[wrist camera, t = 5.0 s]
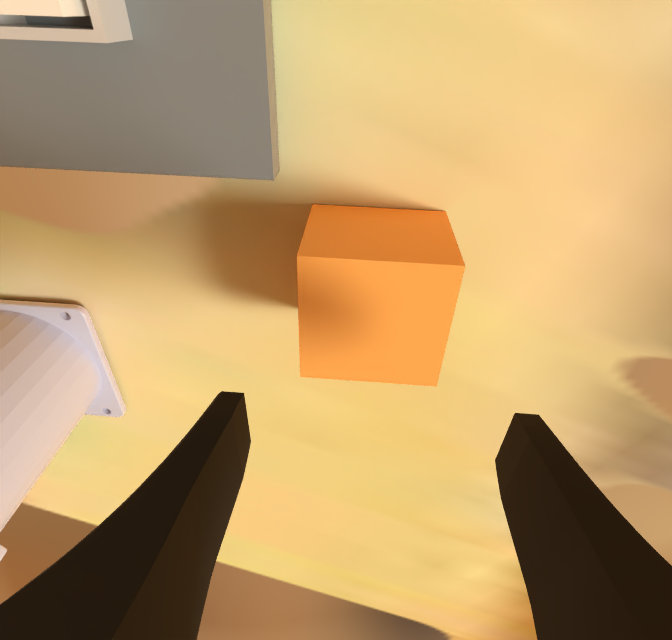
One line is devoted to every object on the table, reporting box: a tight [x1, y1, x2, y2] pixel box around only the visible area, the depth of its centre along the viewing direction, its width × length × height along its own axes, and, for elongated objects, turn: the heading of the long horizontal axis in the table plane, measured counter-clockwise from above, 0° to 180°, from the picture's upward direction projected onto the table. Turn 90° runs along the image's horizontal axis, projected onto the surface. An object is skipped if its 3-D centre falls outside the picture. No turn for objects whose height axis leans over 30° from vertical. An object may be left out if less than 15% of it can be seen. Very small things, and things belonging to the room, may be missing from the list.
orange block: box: [297, 204, 465, 386], centre depth 17 cm, size 5×5×4 cm
